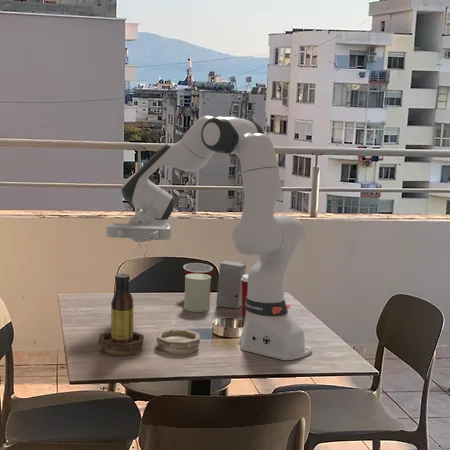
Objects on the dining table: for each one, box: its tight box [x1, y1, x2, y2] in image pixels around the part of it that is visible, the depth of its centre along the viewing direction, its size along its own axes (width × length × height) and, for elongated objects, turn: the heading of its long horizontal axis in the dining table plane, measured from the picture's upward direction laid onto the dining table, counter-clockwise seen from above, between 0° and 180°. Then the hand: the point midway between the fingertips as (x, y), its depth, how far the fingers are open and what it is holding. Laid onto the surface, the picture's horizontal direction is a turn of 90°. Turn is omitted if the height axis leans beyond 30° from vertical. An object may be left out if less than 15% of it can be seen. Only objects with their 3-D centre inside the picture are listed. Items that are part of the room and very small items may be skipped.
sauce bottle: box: [110, 273, 134, 343], centre depth 207 cm, size 7×6×20 cm
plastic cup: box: [183, 262, 213, 276], centre depth 268 cm, size 11×11×12 cm
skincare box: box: [215, 260, 247, 310], centre depth 259 cm, size 8×7×16 cm
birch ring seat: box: [156, 328, 201, 355], centre depth 213 cm, size 12×12×4 cm
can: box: [183, 274, 212, 313], centre depth 254 cm, size 9×9×12 cm
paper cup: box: [241, 273, 249, 318], centre depth 248 cm, size 8×8×14 cm
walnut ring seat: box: [98, 331, 145, 357], centre depth 208 cm, size 12×12×4 cm
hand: (137, 235), depth 223 cm, fingers open, 8 cm apart
